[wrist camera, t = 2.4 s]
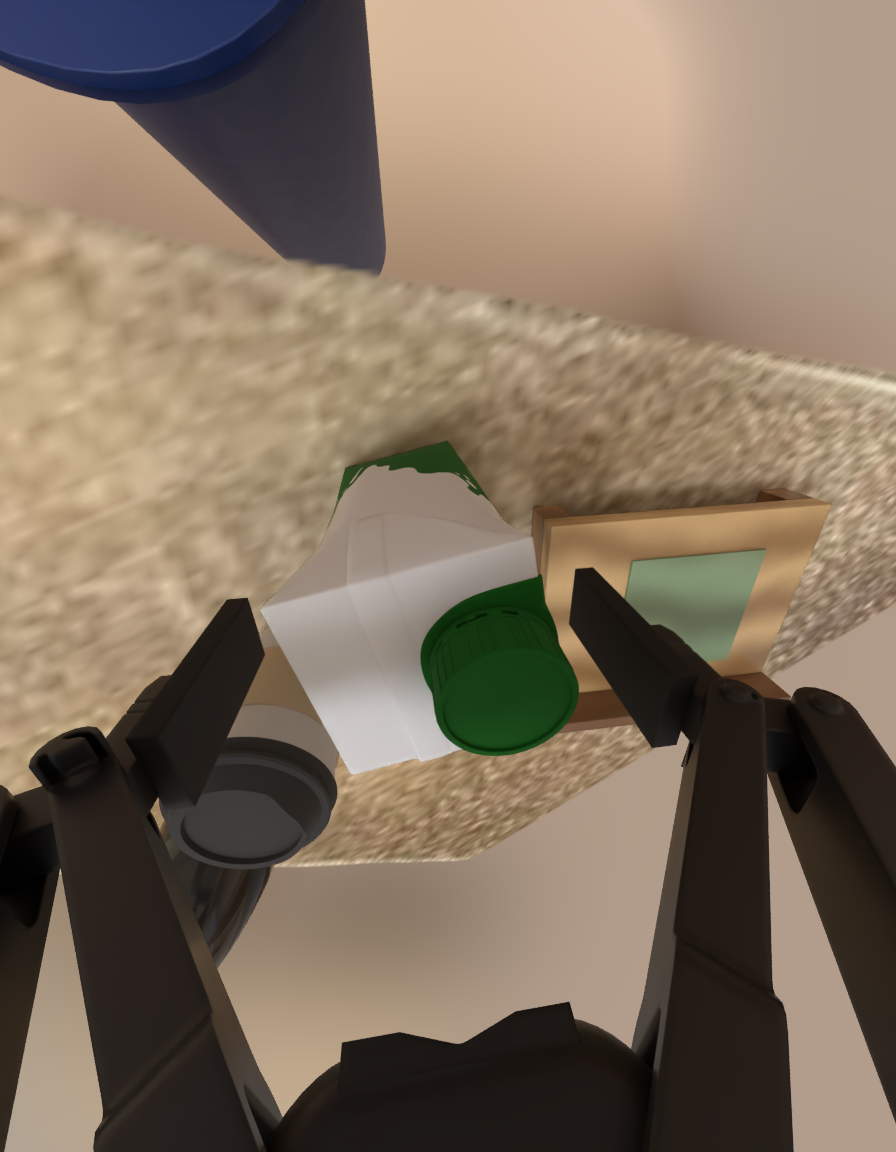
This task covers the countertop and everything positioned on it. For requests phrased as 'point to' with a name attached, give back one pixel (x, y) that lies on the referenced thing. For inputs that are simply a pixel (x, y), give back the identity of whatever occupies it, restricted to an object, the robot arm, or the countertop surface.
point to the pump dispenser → (217, 896)
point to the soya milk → (423, 620)
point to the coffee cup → (263, 777)
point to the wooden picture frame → (682, 582)
